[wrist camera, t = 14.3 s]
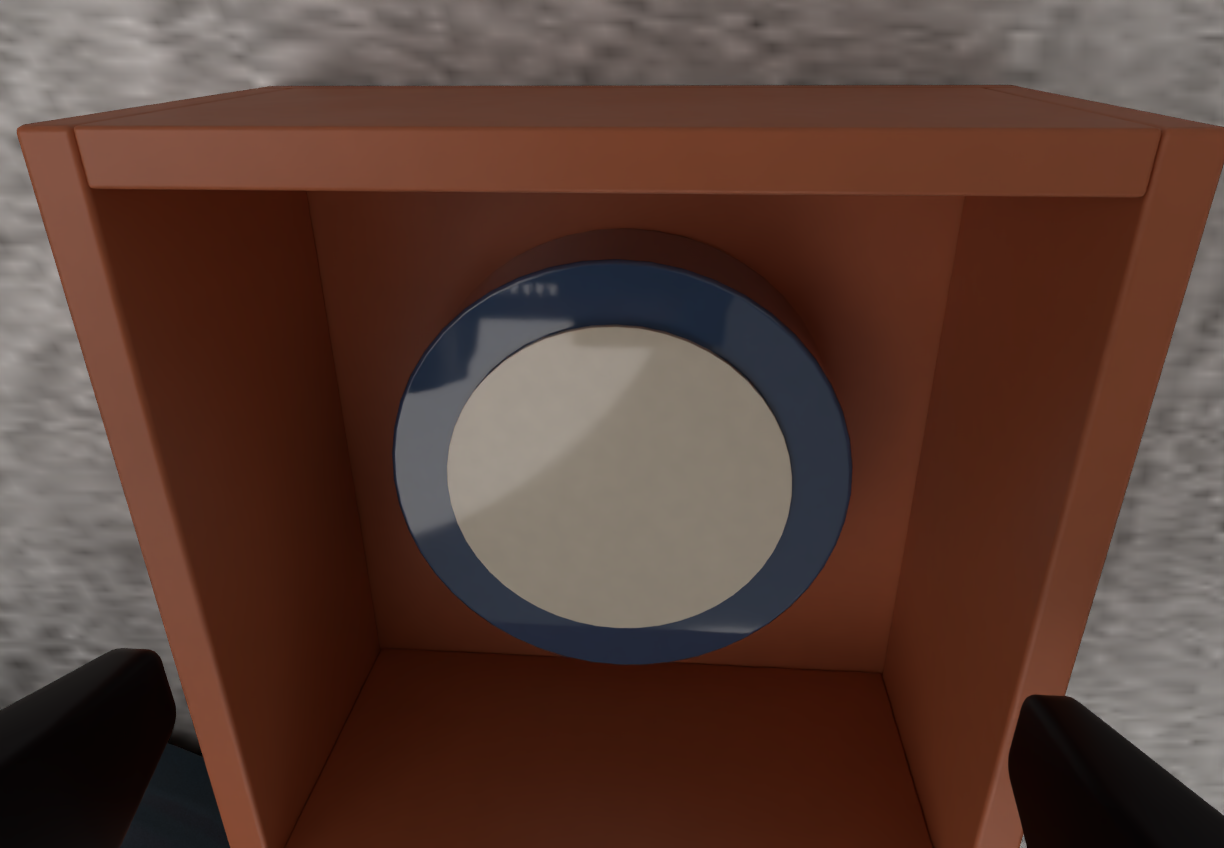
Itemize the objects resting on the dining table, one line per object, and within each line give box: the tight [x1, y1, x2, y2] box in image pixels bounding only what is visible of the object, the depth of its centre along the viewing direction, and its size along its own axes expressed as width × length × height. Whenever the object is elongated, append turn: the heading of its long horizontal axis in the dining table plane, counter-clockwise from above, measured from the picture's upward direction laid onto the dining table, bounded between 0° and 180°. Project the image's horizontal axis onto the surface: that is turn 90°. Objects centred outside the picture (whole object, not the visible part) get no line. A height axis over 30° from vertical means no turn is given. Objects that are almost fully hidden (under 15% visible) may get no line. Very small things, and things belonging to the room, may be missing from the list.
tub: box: [17, 85, 1224, 848], centre depth 13 cm, size 11×11×6 cm
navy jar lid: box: [392, 228, 853, 665], centre depth 14 cm, size 7×7×2 cm
